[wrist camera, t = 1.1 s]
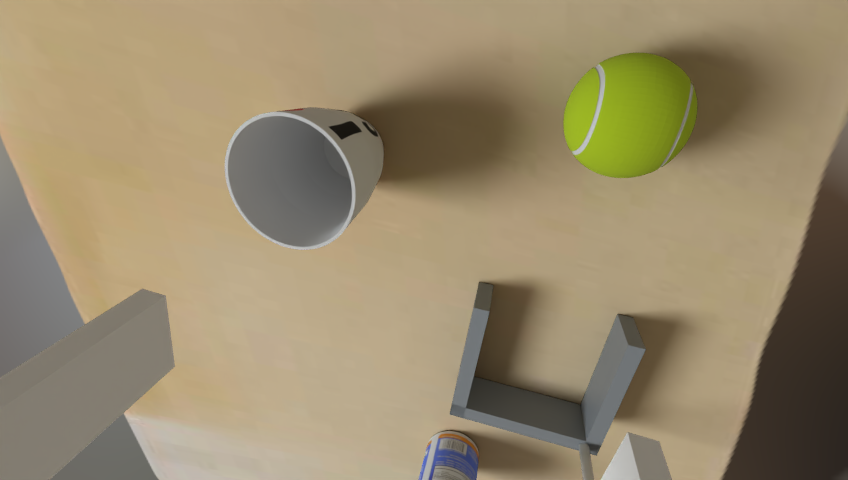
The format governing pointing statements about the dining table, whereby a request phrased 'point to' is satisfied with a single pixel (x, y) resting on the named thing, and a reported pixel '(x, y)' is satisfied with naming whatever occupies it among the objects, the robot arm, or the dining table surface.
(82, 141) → the dining table surface
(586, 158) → the tennis ball
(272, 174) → the cup
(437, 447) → the pill bottle
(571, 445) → the gray u frame
